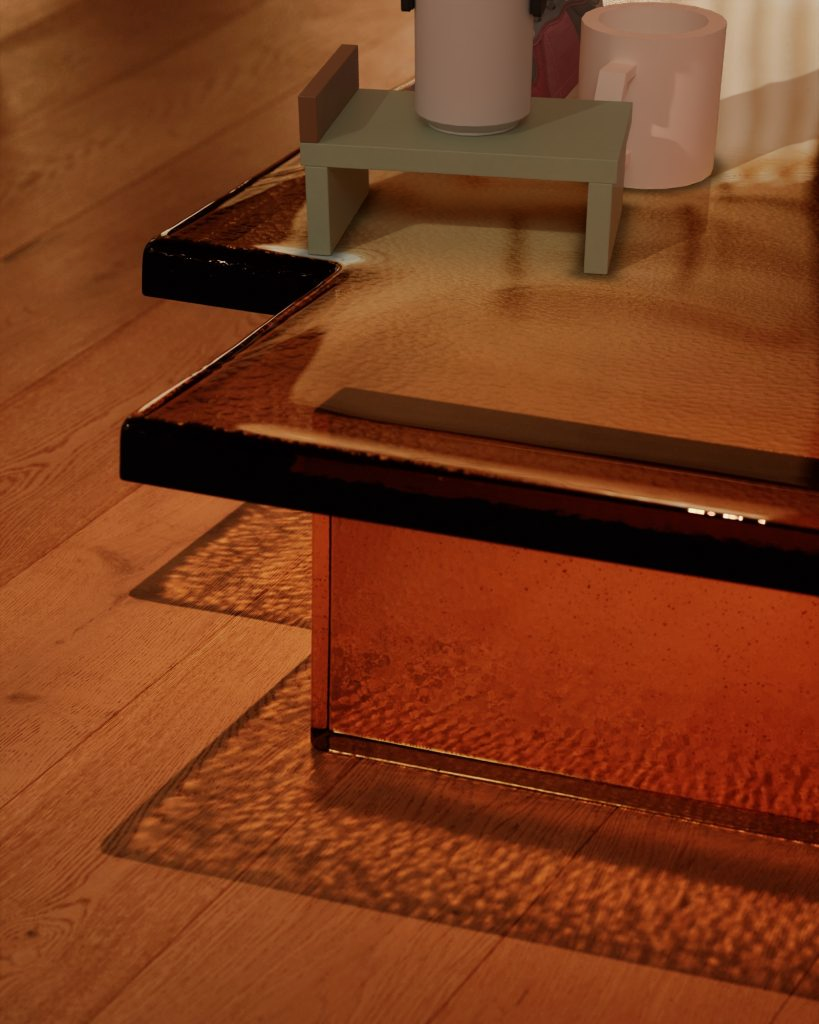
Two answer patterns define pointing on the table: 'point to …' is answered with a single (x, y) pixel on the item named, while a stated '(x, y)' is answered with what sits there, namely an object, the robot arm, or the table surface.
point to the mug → (658, 85)
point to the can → (473, 64)
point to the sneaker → (557, 48)
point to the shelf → (452, 151)
